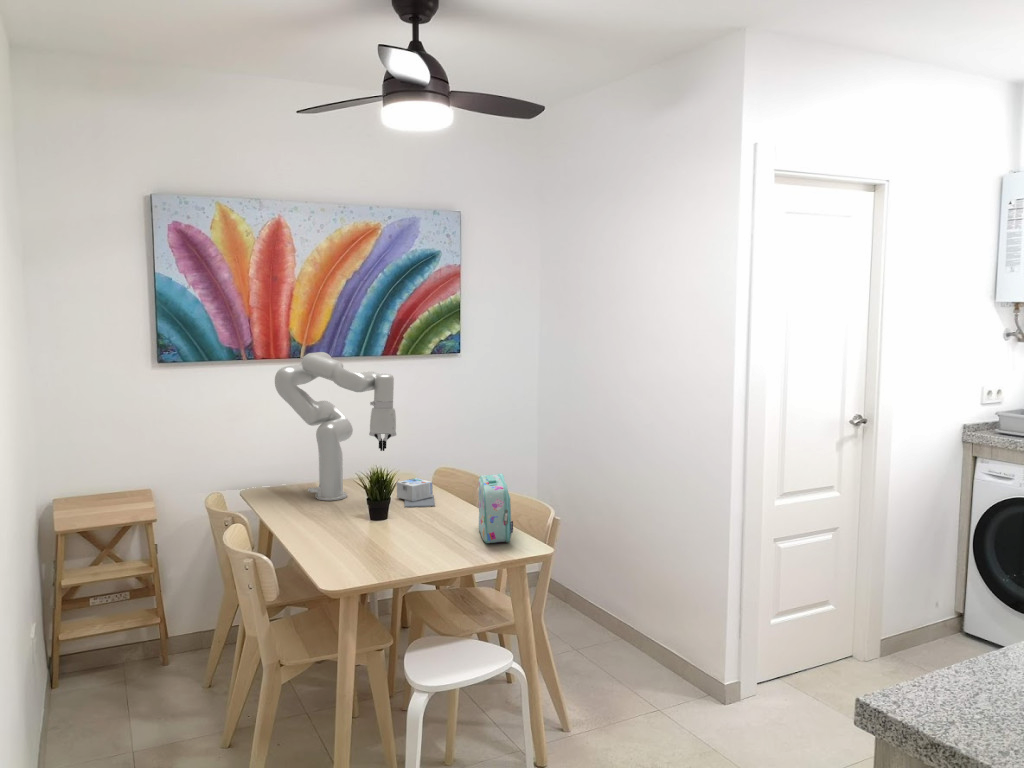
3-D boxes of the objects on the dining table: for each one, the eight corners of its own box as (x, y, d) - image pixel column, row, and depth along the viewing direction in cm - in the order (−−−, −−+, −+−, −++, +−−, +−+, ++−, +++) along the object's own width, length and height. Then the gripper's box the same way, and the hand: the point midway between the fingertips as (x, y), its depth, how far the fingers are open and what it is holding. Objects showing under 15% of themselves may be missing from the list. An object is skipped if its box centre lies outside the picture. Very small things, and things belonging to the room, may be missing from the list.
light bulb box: (396, 481, 321) (416, 477, 328) (396, 497, 321) (417, 492, 329) (412, 486, 313) (433, 481, 321) (412, 502, 314) (433, 497, 322)
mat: (404, 507, 308) (404, 506, 308) (404, 497, 324) (404, 495, 324) (435, 506, 310) (435, 505, 310) (433, 496, 326) (433, 495, 325)
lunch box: (514, 547, 260) (515, 484, 258) (483, 548, 259) (484, 485, 256) (504, 524, 286) (504, 467, 284) (476, 525, 285) (476, 467, 283)
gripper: (363, 405, 306) (362, 452, 308) (402, 406, 308) (401, 452, 310) (364, 403, 313) (363, 448, 316) (402, 404, 315) (401, 448, 318)
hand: (382, 450), depth 313 cm, fingers closed
